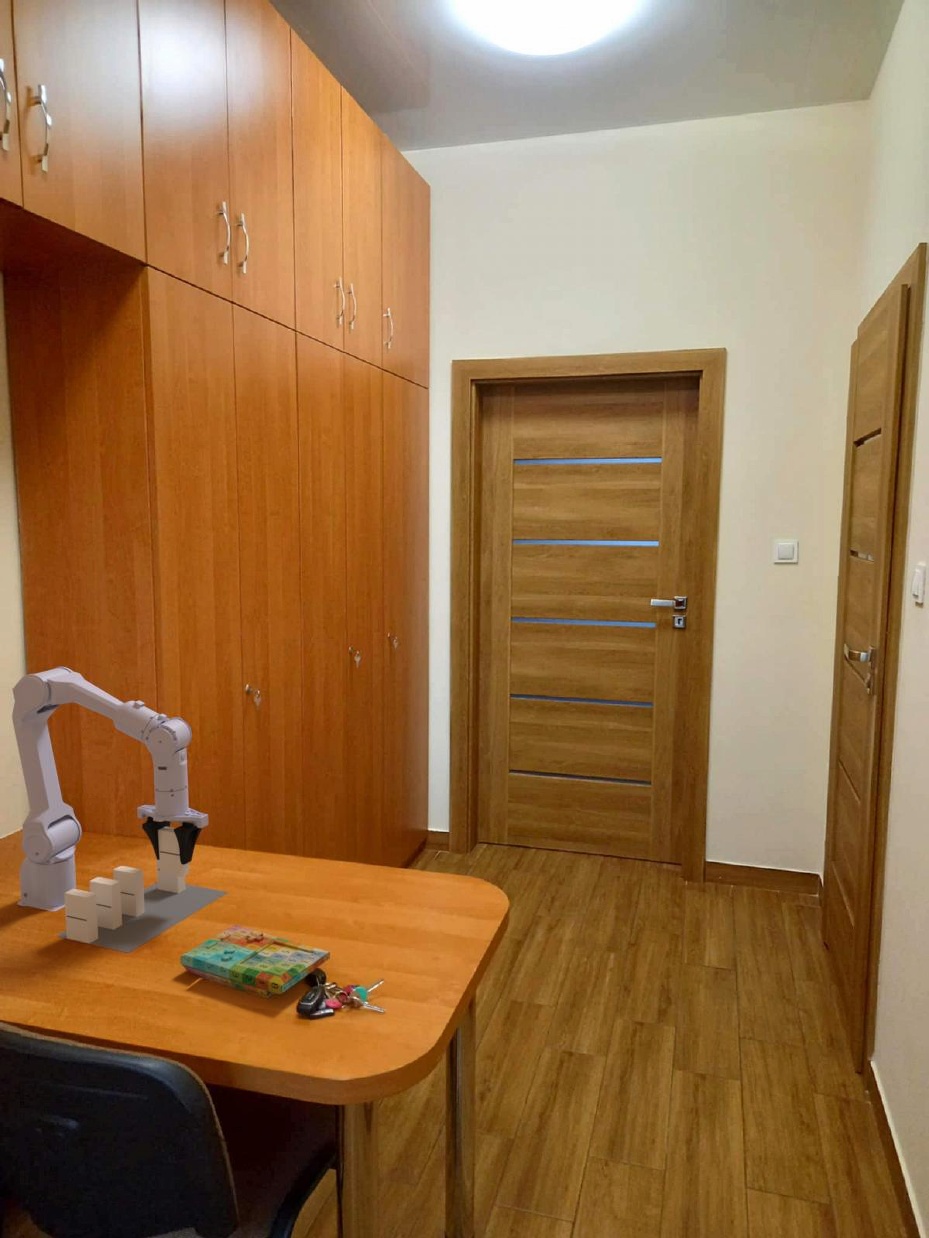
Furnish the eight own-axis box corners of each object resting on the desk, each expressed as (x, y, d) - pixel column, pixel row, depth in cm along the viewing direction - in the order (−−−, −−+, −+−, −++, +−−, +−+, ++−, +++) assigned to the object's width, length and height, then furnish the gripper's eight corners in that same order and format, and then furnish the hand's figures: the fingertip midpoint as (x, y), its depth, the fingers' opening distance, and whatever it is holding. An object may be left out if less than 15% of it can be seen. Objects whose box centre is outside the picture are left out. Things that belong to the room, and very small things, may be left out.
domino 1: (88, 943, 148) (86, 897, 147) (66, 938, 150) (64, 893, 149) (98, 938, 150) (96, 892, 149) (76, 933, 152) (73, 888, 151)
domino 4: (181, 876, 159) (179, 833, 158) (159, 872, 161) (157, 829, 160) (189, 872, 160) (187, 829, 160) (167, 868, 162) (165, 826, 162)
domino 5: (178, 893, 168) (176, 852, 168) (157, 889, 170) (156, 849, 170) (185, 889, 170) (184, 849, 169) (165, 885, 172) (163, 845, 171)
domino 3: (136, 916, 158) (134, 873, 158) (115, 912, 160) (113, 869, 159) (144, 912, 160) (142, 869, 159) (123, 907, 162) (121, 865, 161)
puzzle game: (232, 920, 148) (329, 946, 139) (233, 947, 149) (330, 974, 140) (180, 950, 138) (281, 980, 129) (181, 978, 138) (282, 1010, 129)
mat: (55, 938, 151) (55, 935, 151) (162, 882, 175) (162, 879, 175) (128, 956, 145) (128, 952, 145) (228, 895, 169) (228, 892, 169)
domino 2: (113, 929, 153) (111, 885, 152) (91, 924, 155) (89, 880, 154) (122, 924, 155) (120, 880, 154) (100, 919, 157) (98, 876, 156)
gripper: (123, 788, 158) (127, 862, 159) (188, 798, 152) (191, 874, 154) (151, 778, 164) (155, 848, 166) (214, 787, 159) (217, 860, 160)
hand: (174, 860), depth 160 cm, fingers closed on domino 4, 5 cm apart
